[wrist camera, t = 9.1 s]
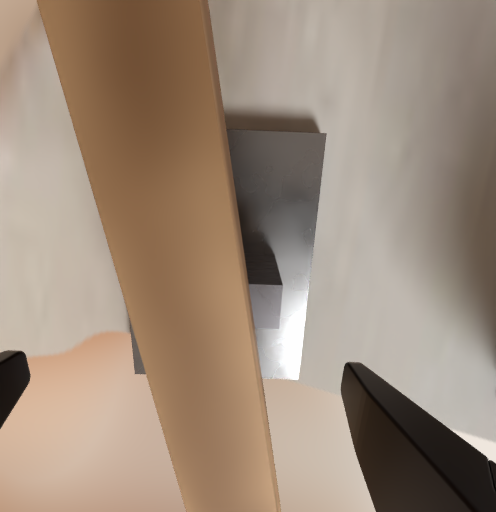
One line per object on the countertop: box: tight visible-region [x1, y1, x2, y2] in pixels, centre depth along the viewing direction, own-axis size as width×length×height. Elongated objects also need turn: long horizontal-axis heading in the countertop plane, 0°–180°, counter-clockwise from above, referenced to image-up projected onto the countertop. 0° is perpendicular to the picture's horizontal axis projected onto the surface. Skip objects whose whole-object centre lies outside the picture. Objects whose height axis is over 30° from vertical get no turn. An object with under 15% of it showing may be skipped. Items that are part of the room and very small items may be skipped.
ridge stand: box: [129, 129, 326, 380], centre depth 14 cm, size 10×14×5 cm
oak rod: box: [37, 0, 281, 512], centre depth 11 cm, size 4×24×3 cm, turn 8°
